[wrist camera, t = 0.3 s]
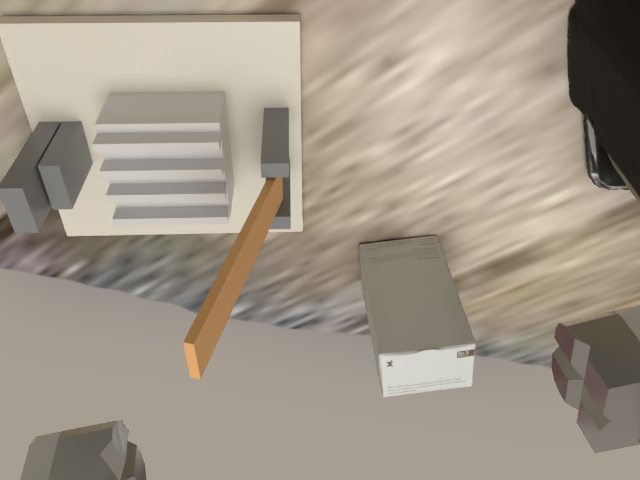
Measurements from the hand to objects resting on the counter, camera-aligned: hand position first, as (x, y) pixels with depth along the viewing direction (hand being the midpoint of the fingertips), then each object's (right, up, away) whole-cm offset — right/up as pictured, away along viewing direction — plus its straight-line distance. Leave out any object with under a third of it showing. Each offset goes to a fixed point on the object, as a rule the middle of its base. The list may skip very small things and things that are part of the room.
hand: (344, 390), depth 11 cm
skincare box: (+8, +1, +51) cm, 52 cm away
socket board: (-13, +12, +41) cm, 44 cm away
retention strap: (-6, +2, +29) cm, 29 cm away
